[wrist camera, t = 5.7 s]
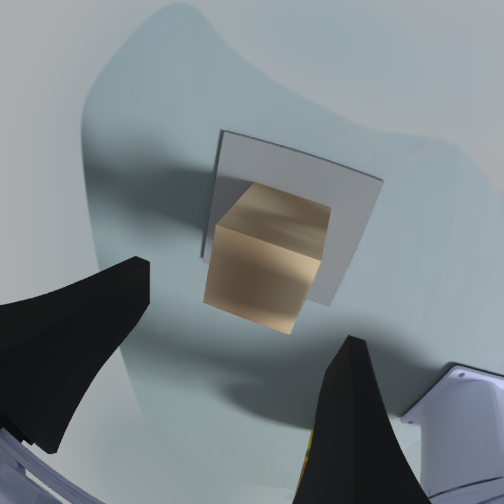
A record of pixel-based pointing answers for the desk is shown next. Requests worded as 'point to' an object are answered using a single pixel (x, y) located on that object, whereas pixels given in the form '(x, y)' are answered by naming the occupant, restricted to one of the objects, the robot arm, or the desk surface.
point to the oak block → (266, 256)
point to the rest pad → (303, 185)
